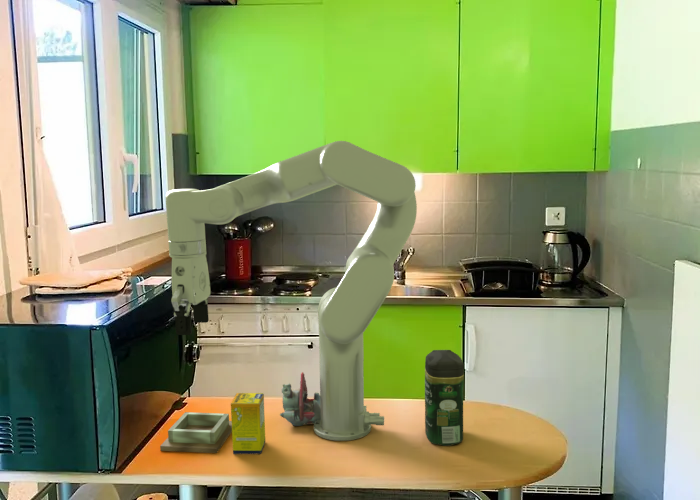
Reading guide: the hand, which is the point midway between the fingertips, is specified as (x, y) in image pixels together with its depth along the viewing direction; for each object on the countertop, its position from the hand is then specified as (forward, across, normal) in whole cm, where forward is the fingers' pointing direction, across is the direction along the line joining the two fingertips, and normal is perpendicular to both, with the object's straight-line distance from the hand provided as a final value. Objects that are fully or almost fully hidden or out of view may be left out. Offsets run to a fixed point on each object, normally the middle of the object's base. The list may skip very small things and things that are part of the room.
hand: (193, 328), depth 145 cm
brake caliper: (+24, +10, -20) cm, 33 cm away
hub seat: (+24, -1, 0) cm, 24 cm away
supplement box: (+24, -5, -13) cm, 28 cm away
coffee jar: (+25, +5, -52) cm, 58 cm away
